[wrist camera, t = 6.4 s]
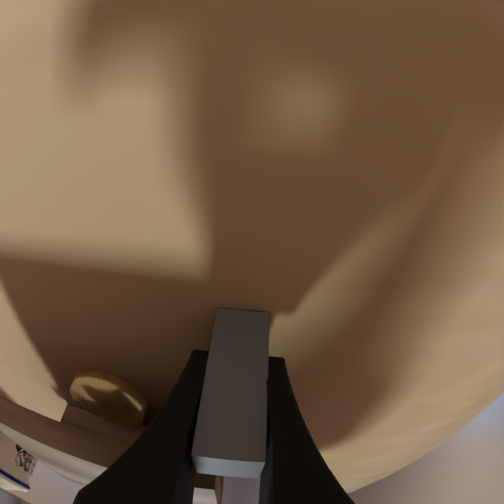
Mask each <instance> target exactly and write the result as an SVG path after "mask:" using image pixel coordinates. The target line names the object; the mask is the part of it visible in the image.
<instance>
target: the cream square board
mask: <svg viewBox="0 0 504 504" xmlns="http://www.w3.org/2000/svg"><path fill="white" fill-rule="evenodd" d="M146 427H147V426H146V425H142V424H139V425H134V426H128V425H120V424H116V423H113V422H109V421H107V420H104V419H102V418H99V417H97V416H95V415H94V414H92V413H90V412H88V411H87V410H84V409H81V408H78V407H75V406H72V405H68V404H67V406H66V409H65V411H64V414H63V416H62V419H61V422H58V421H56V420H53V419H51V418H48V417H46V416H43V415H41V414H38V413H36V412H34V411H31V410H29V409H27V408H25V407H22V406H20V405H18V404H16V403H14V402H12V401H10V400H7V399H5V398H3V397H1V396H0V430H1V431H2V432H3V433H4V434H6V435H7V436H8V437H9V438H10V439H11V440H13V441H14V442H15V443H16V444H18V445H19V446H20V447H21V448H23V449H24V450H25V451H26V452H28V453H29V454H30V455H32V456H33V457H34V458H36V459H37V460H38V461H40V462H41V463H42V464H44V465H45V466H47V467H48V468H50V469H51V470H52V471H54V472H55V473H57V474H58V475H60V476H61V477H63V478H65V479H67V480H70V481H72V482H75V483H77V484H80V485H82V486H86V485H87V484H89V483H90V482H91V481H93V480H94V479H95V478H97V477H98V476H99V475H100V474H101V473H103V472H104V471H105V470H106V469H107V468H108V467H109V466H110V465H112V464H113V463H114V462H115V461H116V460H117V459H118V458H119V457H120V456H121V455H122V454H123V453H124V452H125V451H126V450H127V449H128V448H129V447H130V446H131V445H132V444H133V442H134V441H135V440H136V439H137V438H138V437H139V436H140V434H141V433H142V432H143V431H144V430H145V428H146ZM223 485H224V476H220V475H211V474H204V473H197V471H196V476H195V485H194V495H193V504H222V495H223Z"/></svg>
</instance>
